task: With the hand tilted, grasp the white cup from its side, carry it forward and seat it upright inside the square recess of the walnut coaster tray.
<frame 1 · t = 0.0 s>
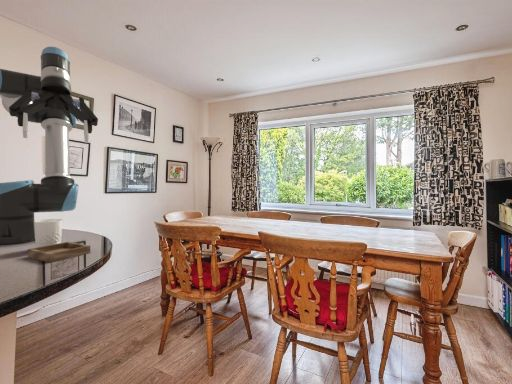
hand: (57, 137, 74), 36 cm above the counter, tool tilted 35°, fingers open, 13 cm apart
white cup: (48, 249, 94), on the counter
walnut coaster tray: (60, 254, 87), on the counter
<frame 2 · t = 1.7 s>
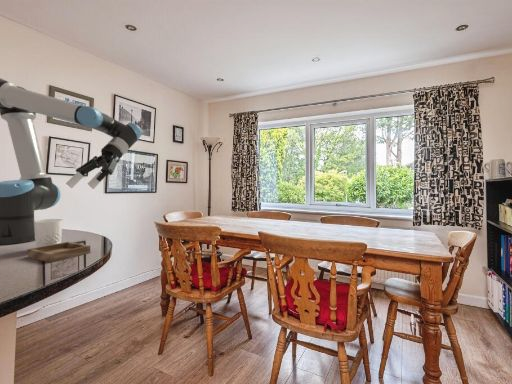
hand: (79, 186, 103), 22 cm above the counter, tool tilted 45°, fingers open, 13 cm apart
nothing on the counter moved.
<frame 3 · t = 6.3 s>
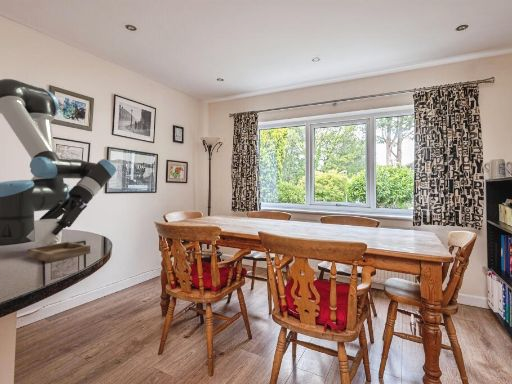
hand: (37, 240, 91), 4 cm above the counter, tool tilted 45°, fingers closed on white cup, 8 cm apart
white cup: (48, 249, 94), on the counter, touching gripper
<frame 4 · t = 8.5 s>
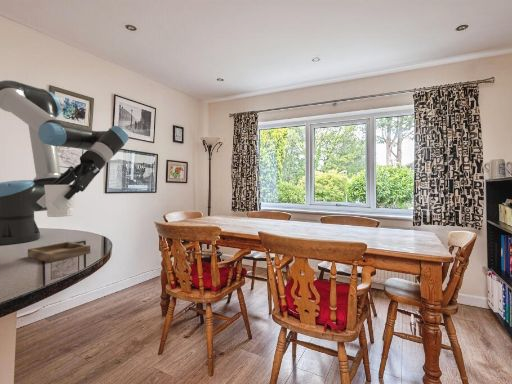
hand: (48, 205, 84), 16 cm above the counter, tool tilted 45°, fingers closed on white cup, 8 cm apart
white cup: (60, 216, 88), point 12 cm above the counter, touching gripper
when the fingers open (6 cm above the counter, at t = 10.9 s): white cup drops 1 cm, resting on walnut coaster tray.
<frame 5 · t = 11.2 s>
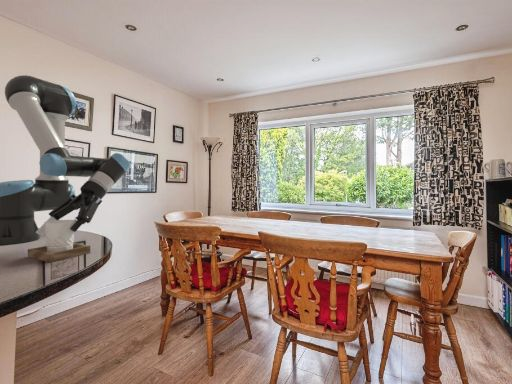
hand: (50, 237, 85), 6 cm above the counter, tool tilted 45°, fingers open, 11 cm apart
white cup: (60, 252, 88), point 1 cm above the counter, touching walnut coaster tray
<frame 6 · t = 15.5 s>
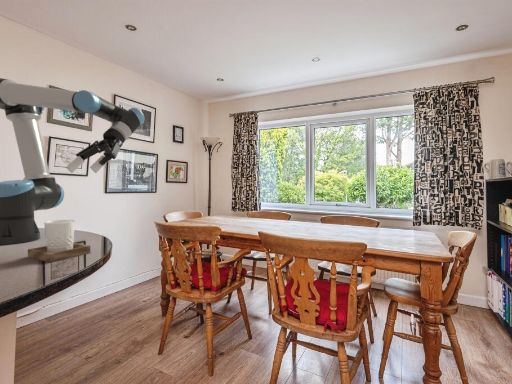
hand: (80, 170, 98), 28 cm above the counter, tool tilted 45°, fingers open, 13 cm apart
nothing on the counter moved.
at the end: white cup 0.1 cm off-centre on the walnut coaster tray, point 0.6 cm above the walnut coaster tray's base; white cup tilted 0°; the gripper is holding nothing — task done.
